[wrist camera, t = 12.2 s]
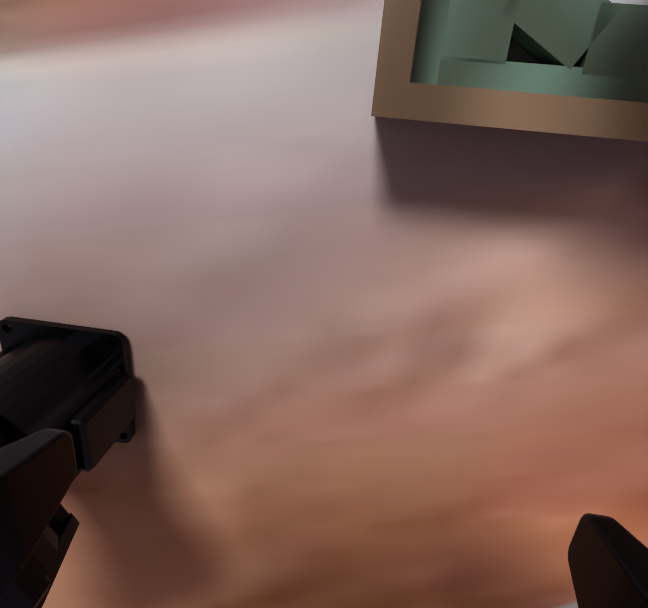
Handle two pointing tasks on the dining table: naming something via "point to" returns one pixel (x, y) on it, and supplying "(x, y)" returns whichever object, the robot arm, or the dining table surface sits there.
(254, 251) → the dining table surface
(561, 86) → the caddy
